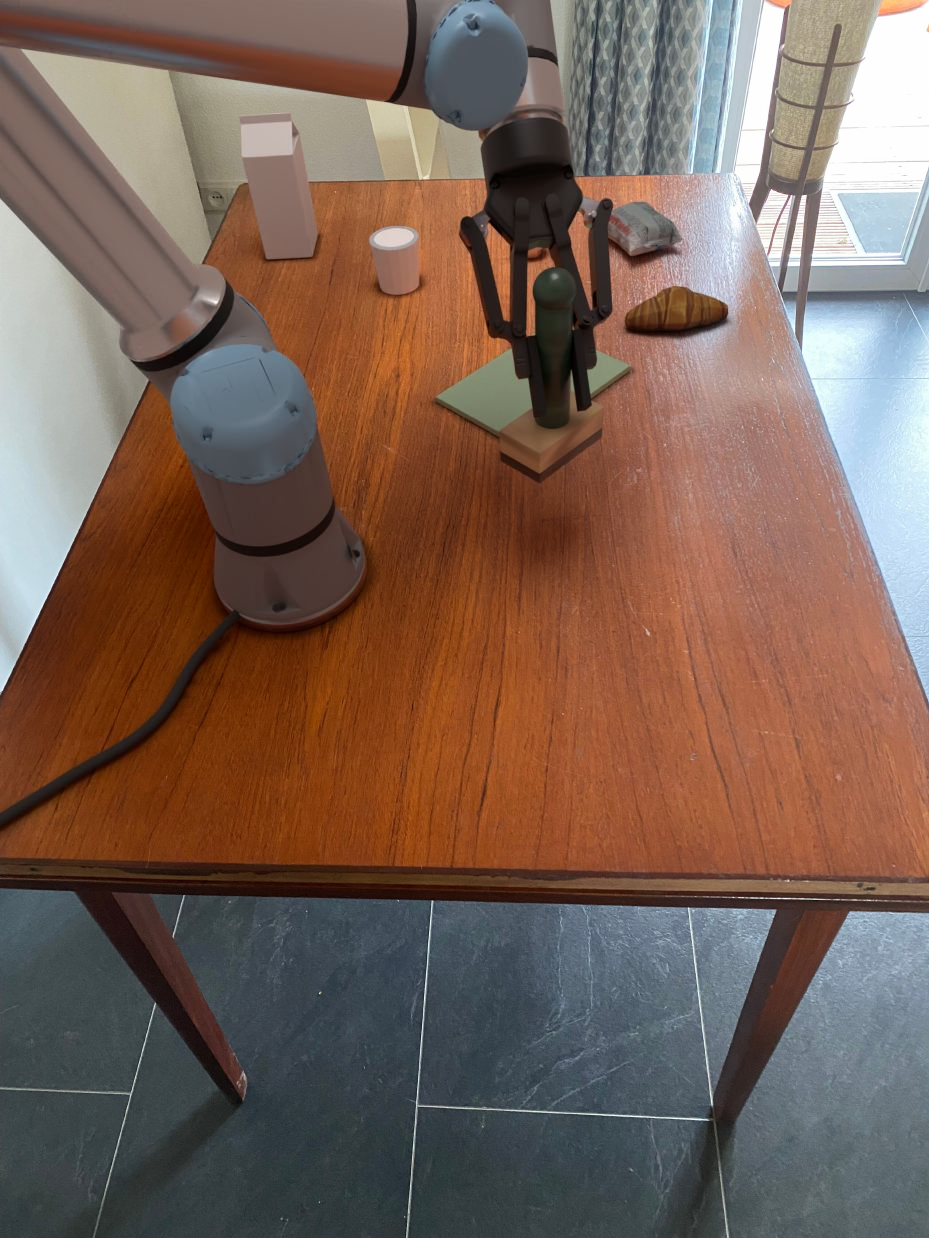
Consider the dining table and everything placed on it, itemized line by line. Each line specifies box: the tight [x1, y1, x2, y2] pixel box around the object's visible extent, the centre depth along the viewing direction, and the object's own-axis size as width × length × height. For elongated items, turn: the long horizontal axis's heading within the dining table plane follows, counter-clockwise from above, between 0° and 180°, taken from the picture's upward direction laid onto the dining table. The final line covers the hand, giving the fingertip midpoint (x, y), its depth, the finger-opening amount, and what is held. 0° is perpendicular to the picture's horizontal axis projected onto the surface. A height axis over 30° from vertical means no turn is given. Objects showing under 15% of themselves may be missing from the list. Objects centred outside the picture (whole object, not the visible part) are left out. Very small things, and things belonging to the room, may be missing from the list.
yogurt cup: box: [368, 225, 420, 296], centre depth 126 cm, size 7×7×7 cm
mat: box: [435, 332, 631, 438], centre depth 111 cm, size 20×14×1 cm
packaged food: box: [608, 201, 683, 257], centre depth 130 cm, size 9×12×5 cm
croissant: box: [624, 285, 729, 332], centre depth 116 cm, size 14×7×5 cm, turn 95°
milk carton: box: [238, 111, 319, 260], centre depth 131 cm, size 7×7×19 cm
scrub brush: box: [499, 266, 605, 484], centre depth 80 cm, size 9×5×18 cm, turn 135°
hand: (562, 411), depth 79 cm, fingers closed on scrub brush, 3 cm apart
